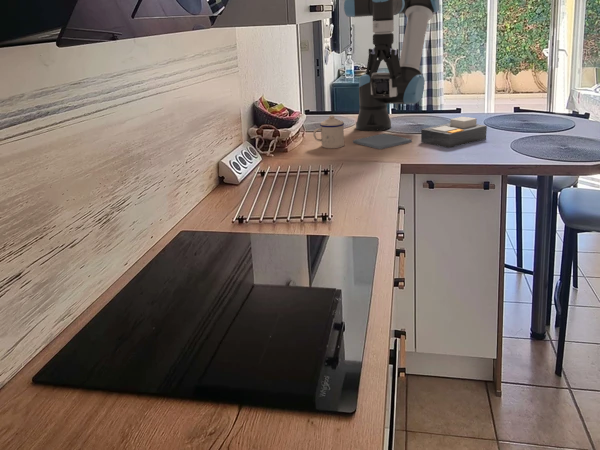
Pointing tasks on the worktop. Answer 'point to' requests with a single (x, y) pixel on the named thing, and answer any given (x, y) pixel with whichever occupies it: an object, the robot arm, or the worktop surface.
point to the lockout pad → (382, 141)
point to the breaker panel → (453, 135)
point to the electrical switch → (381, 85)
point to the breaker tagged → (444, 129)
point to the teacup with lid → (331, 133)
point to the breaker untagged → (463, 122)
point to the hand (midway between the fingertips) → (383, 95)
